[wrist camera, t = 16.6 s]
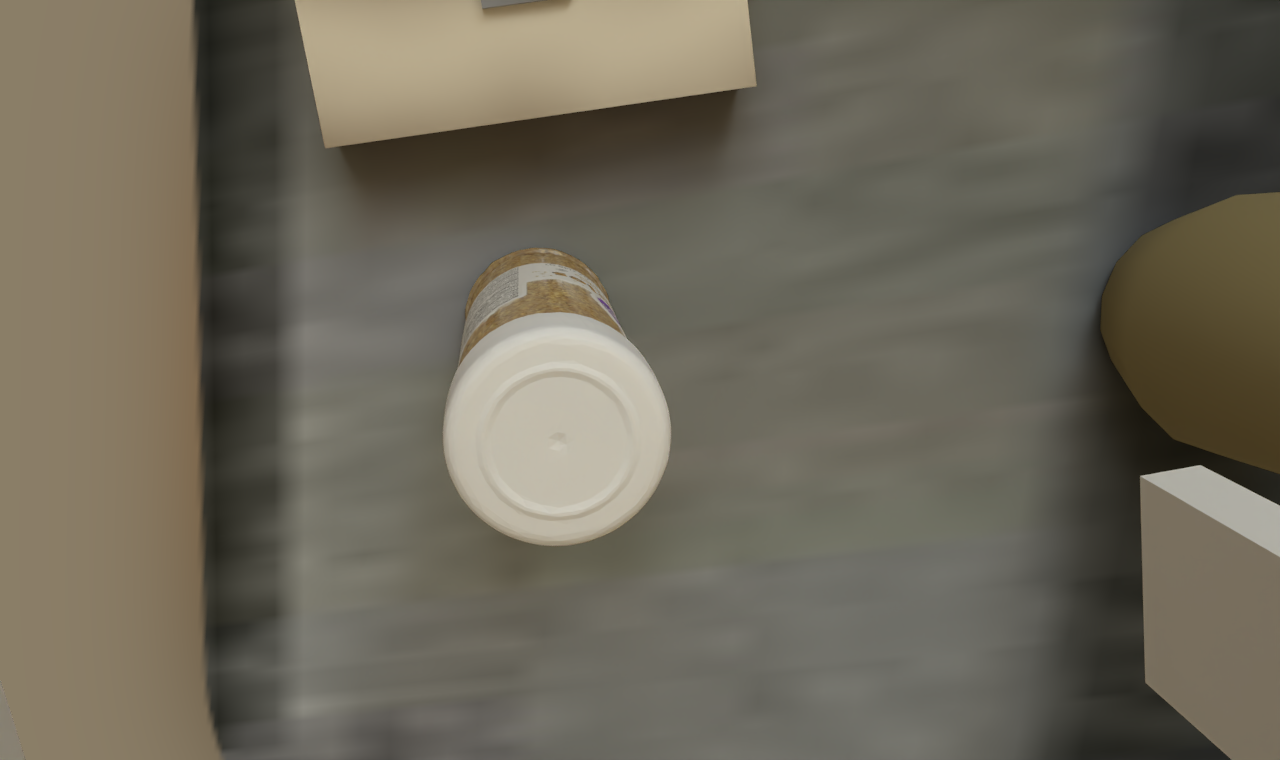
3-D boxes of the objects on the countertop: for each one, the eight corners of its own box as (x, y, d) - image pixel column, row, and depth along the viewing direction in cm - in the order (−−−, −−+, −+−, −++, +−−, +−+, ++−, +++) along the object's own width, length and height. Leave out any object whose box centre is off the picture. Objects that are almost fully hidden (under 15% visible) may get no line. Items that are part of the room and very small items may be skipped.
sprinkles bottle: (640, 317, 35) (722, 441, 22) (537, 418, 36) (559, 597, 23) (535, 212, 34) (558, 279, 21) (430, 318, 34) (390, 447, 21)
